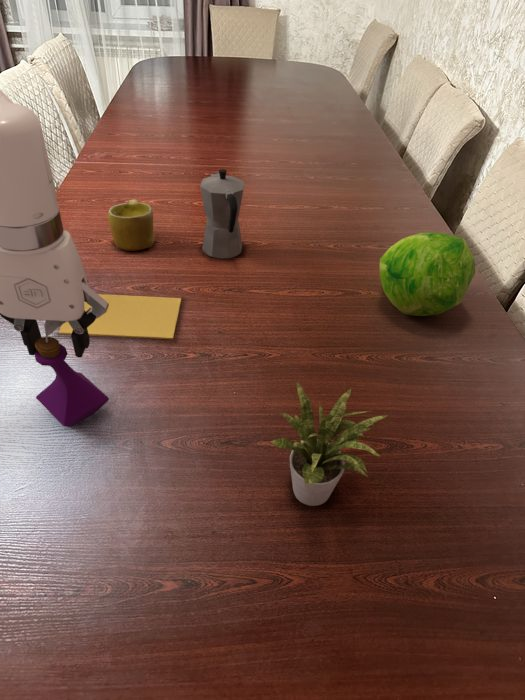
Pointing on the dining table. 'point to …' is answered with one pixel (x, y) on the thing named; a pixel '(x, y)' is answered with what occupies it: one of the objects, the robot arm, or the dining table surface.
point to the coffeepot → (222, 215)
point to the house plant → (323, 448)
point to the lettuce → (427, 273)
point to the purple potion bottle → (65, 383)
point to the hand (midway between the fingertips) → (58, 348)
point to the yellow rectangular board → (134, 317)
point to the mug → (132, 225)
